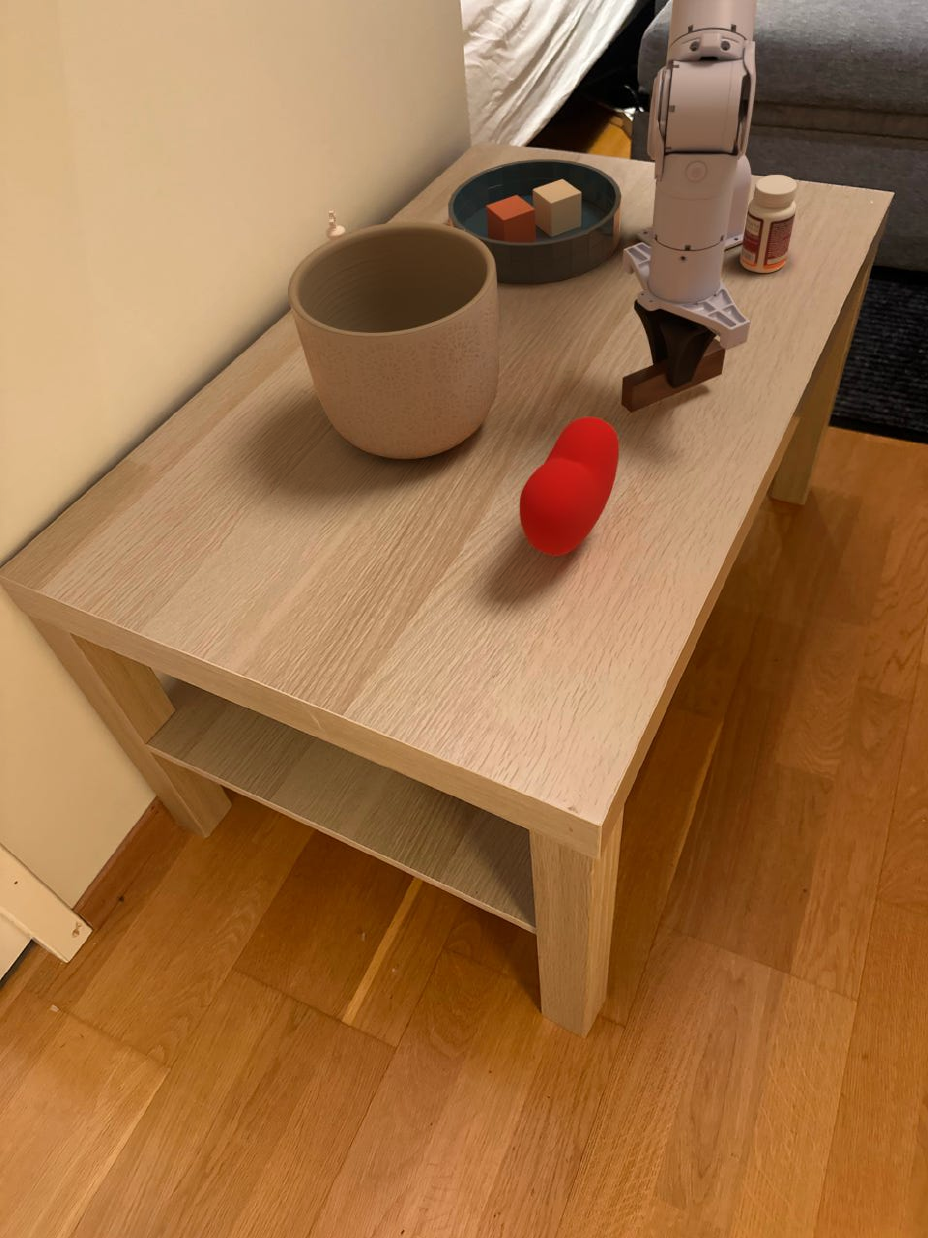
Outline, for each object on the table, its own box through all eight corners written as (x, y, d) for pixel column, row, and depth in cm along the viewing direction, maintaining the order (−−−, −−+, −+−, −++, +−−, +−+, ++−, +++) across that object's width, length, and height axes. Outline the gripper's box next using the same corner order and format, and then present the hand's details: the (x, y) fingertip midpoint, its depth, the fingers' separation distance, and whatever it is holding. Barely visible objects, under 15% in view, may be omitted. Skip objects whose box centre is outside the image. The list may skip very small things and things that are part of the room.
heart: (570, 488, 77) (570, 393, 69) (629, 506, 75) (636, 411, 67) (507, 582, 71) (500, 489, 63) (569, 604, 69) (569, 512, 61)
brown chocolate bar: (711, 365, 83) (715, 337, 81) (722, 374, 82) (726, 346, 80) (620, 404, 81) (622, 376, 78) (630, 414, 80) (632, 386, 77)
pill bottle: (787, 252, 97) (803, 173, 90) (782, 276, 94) (798, 197, 87) (742, 248, 98) (755, 170, 91) (736, 271, 95) (748, 193, 89)
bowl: (562, 180, 111) (562, 143, 107) (653, 246, 100) (656, 207, 96) (424, 229, 106) (419, 192, 103) (503, 304, 95) (500, 264, 92)
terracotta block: (518, 228, 104) (516, 194, 100) (536, 243, 101) (535, 208, 98) (488, 239, 103) (485, 205, 99) (505, 254, 100) (503, 219, 97)
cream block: (562, 212, 105) (562, 178, 102) (581, 226, 103) (581, 191, 99) (533, 223, 104) (532, 188, 101) (551, 237, 102) (550, 202, 99)
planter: (476, 497, 77) (460, 346, 65) (297, 470, 81) (252, 324, 70) (525, 377, 87) (519, 227, 75) (364, 359, 91) (334, 214, 79)
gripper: (594, 210, 73) (591, 351, 84) (704, 290, 65) (685, 437, 75) (666, 183, 75) (654, 326, 85) (783, 259, 66) (753, 406, 77)
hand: (673, 376), depth 80 cm, fingers closed on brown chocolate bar, 1 cm apart
